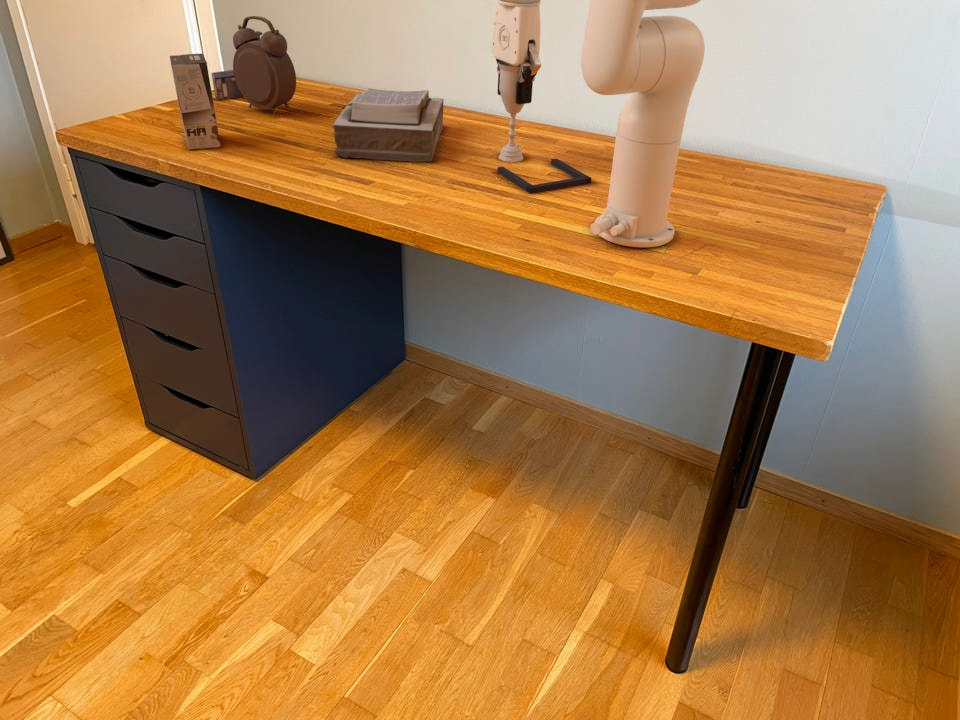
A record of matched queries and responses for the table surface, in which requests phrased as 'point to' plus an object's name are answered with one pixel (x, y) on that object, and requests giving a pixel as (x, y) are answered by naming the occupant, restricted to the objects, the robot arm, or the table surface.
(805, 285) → the table surface
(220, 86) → the mini dv tape
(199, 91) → the coffee box
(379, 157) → the bible
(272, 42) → the alarm clock
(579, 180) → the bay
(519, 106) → the chalice
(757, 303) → the table surface
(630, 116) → the robot arm
